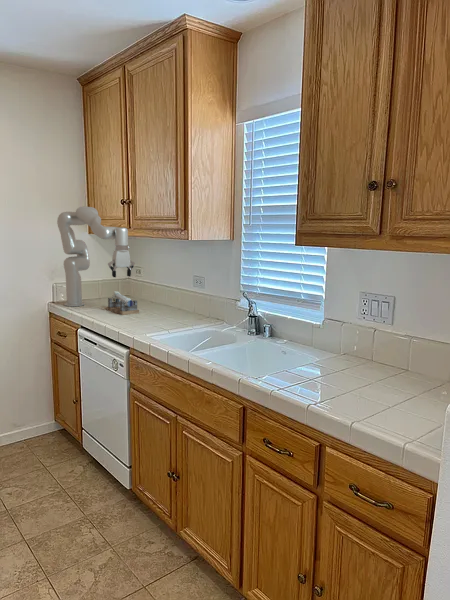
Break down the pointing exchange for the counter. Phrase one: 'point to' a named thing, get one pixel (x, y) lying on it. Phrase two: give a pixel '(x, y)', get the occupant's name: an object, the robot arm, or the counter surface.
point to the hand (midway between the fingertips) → (121, 276)
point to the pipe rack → (122, 307)
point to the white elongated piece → (122, 299)
